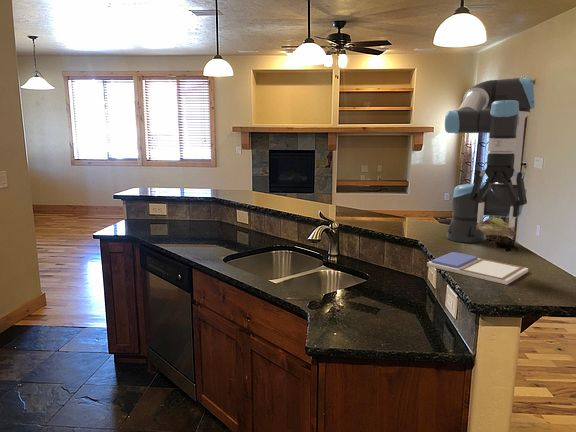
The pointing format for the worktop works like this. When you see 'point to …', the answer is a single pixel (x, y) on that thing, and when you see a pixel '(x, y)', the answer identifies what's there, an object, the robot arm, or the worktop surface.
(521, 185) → the robot arm
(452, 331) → the worktop surface
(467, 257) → the board
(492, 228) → the rock
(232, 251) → the worktop surface
